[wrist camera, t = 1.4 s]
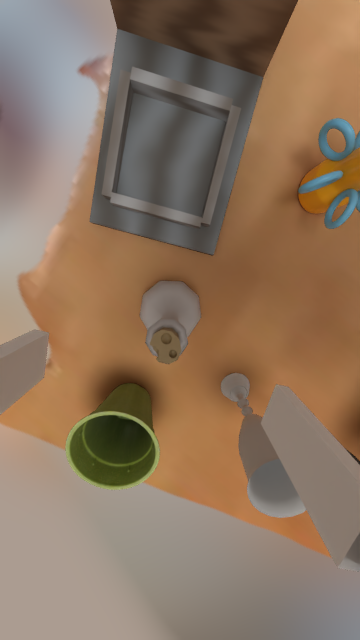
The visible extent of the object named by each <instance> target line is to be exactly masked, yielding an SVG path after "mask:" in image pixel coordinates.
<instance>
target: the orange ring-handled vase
mask: <svg viewBox="0 0 360 640" xmlns="http://www.w3.org/2000/svg"><path fill="white" fill-rule="evenodd" d="M332 128H335V129H338V130H339V131H341V132H342V134H343V135H344V137H345V140H346V147H345V150H344V151H343V152H341V153H337V152H335V151H333V150H332V149H331V148H330V147H329V145H328V143H327V132H328V131H329V130H330V129H332ZM318 140H319V147H320V150H321V152H322V153H323V154H324V156H325V157H327V159H326V160H324V161H323V162H322V163H320V164H319V165H317V166H316V167H315V168H313V169H312V170H310V171H309V172H308V173H307V174H306V175H305V176H304V178H303V180H302V181H301V184H300V187H299V189H298V192H299V193H298V195H299V201H300V203H301V205H302V207H303V208H304V209H305V210H306V211H308V212H310V213H314V214H320V213H324V212H326V215H325V219H324V224H325V226H326V227H327V228H329V229H334V228H337V227H339V226H340V225H342V224H343V223H344V222H345V221H346V220H347V219H348V218H349V216H350V215H351V214H352V212H353V210H354V209H355V207H356V208H357V210H358V211H359V212H360V131H359V133H358V135H357V137H356V139H355V133H354V130H353V128H352V126H351V125H350V124H349V123H348V122H347V121H345V120H343V119H340V118H335V119H331V120H329V121H328V122H326V123H325V124H324V126H323V127H322V128H321V130H320V133H319V139H318ZM352 151H353V152H352ZM347 203H348V205H347V207H346V209H345V211H344V212H343V214H342V215H341V216H340V217H339V218H338V219H337V220H336V221H334V222H332V215H333V213H334V211H335V209H336V208H338V207H341V206H343V205H345V204H347Z"/></svg>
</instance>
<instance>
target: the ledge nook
mask: <svg viewBox="0 0 360 640" xmlns="http://www.w3.org/2000/svg"><path fill="white" fill-rule="evenodd" d="M110 1H111V5H112V9H113V13H114V17H115V21H116V24H117V35H116V42H115V49H114V56H113V63H112V70H111V77H110V84H109V91H108V98H107V105H106V111H105V118H104V125H103V132H102V139H101V146H100V153H99V160H98V167H97V174H96V181H95V188H94V194H93V201H92V208H91V215H90V222H91V223H94V224H98V225H101V226H105V227H109V228H113V229H116V230H120V231H124V232H128V233H131V234H135V235H139V236H142V237H146V238H150V239H154V240H157V241H161V242H165V243H168V244H172V245H176V246H180V247H183V248H187V249H191V250H195V251H198V252H202V253H206V254H209V255H214V251H215V248H216V244H217V241H218V237H219V233H220V230H221V226H222V223H223V219H224V216H225V212H226V208H227V205H228V201H229V198H230V194H231V191H232V187H233V183H234V180H235V176H236V173H237V169H238V166H239V162H240V158H241V155H242V151H243V148H244V144H245V140H246V137H247V133H248V130H249V126H250V123H251V119H252V115H253V112H254V108H255V105H256V101H257V98H258V94H259V90H260V87H261V83H262V80H263V77H264V74H265V72H266V70H267V68H268V66H269V63H270V61H271V59H272V57H273V54H274V52H275V50H276V48H277V46H278V43H279V41H280V39H281V37H282V35H283V32H284V30H285V28H286V26H287V24H288V21H289V19H290V17H291V15H292V13H293V10H294V8H295V6H296V4H297V2H298V0H110Z"/></svg>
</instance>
